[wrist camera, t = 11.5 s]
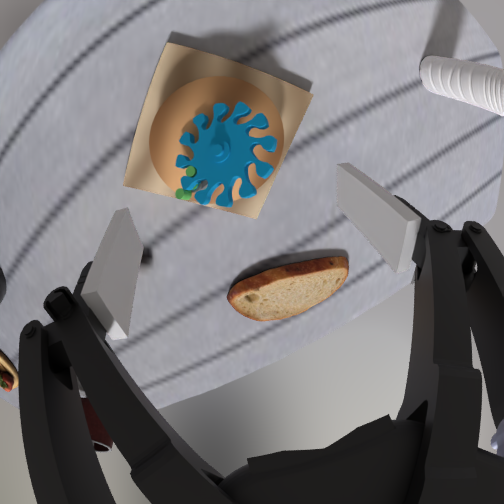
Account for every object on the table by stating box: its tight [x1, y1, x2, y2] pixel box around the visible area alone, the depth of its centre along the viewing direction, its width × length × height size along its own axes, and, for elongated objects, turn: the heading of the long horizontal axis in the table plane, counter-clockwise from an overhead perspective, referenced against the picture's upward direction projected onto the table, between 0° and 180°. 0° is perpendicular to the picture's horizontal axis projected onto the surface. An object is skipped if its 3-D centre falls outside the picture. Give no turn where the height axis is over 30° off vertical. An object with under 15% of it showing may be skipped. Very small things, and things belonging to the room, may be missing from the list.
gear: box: [175, 101, 277, 207], centre depth 26 cm, size 11×6×10 cm
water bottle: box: [420, 56, 504, 116], centre depth 19 cm, size 9×6×25 cm
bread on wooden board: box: [123, 42, 313, 219], centre depth 29 cm, size 18×18×6 cm
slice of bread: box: [227, 256, 349, 321], centre depth 47 cm, size 18×18×4 cm
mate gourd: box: [77, 377, 113, 452], centre depth 51 cm, size 16×14×20 cm
